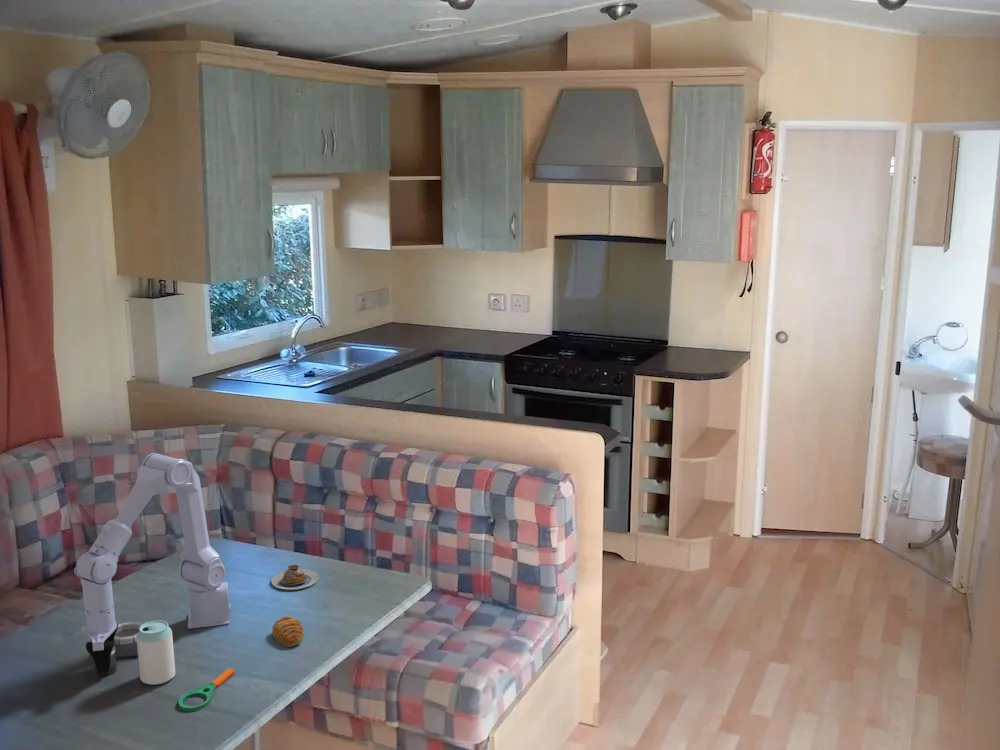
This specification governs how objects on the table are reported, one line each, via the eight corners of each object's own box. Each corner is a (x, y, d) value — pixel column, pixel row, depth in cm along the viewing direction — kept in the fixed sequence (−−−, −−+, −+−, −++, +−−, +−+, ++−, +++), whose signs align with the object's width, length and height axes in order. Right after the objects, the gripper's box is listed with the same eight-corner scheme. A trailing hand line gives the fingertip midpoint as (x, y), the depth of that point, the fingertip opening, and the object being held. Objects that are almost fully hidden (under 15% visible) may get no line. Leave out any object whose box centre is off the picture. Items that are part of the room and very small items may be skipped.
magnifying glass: (196, 716, 192) (195, 708, 192) (171, 709, 195) (171, 701, 194) (243, 678, 206) (242, 671, 206) (219, 672, 208) (219, 665, 208)
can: (155, 690, 201) (150, 637, 198) (133, 680, 204) (128, 628, 202) (182, 675, 206) (178, 623, 204) (160, 666, 210) (156, 615, 207)
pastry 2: (269, 576, 256) (268, 560, 255) (315, 570, 259) (314, 554, 258) (273, 595, 245) (272, 578, 244) (321, 589, 248) (320, 572, 247)
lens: (118, 664, 211) (115, 638, 209) (116, 675, 206) (113, 649, 205) (95, 667, 210) (92, 641, 208) (92, 678, 205) (90, 652, 204)
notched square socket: (153, 636, 223) (152, 619, 222) (151, 653, 216) (150, 635, 215) (107, 642, 220) (105, 625, 219) (103, 659, 213) (101, 641, 212)
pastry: (309, 644, 220) (308, 629, 219) (280, 651, 217) (279, 636, 216) (298, 627, 228) (297, 612, 227) (269, 633, 225) (268, 618, 224)
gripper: (83, 594, 210) (89, 651, 213) (74, 625, 197) (80, 685, 200) (117, 590, 212) (123, 647, 215) (111, 620, 199) (117, 680, 202)
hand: (105, 665), depth 208 cm, fingers closed on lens, 5 cm apart
